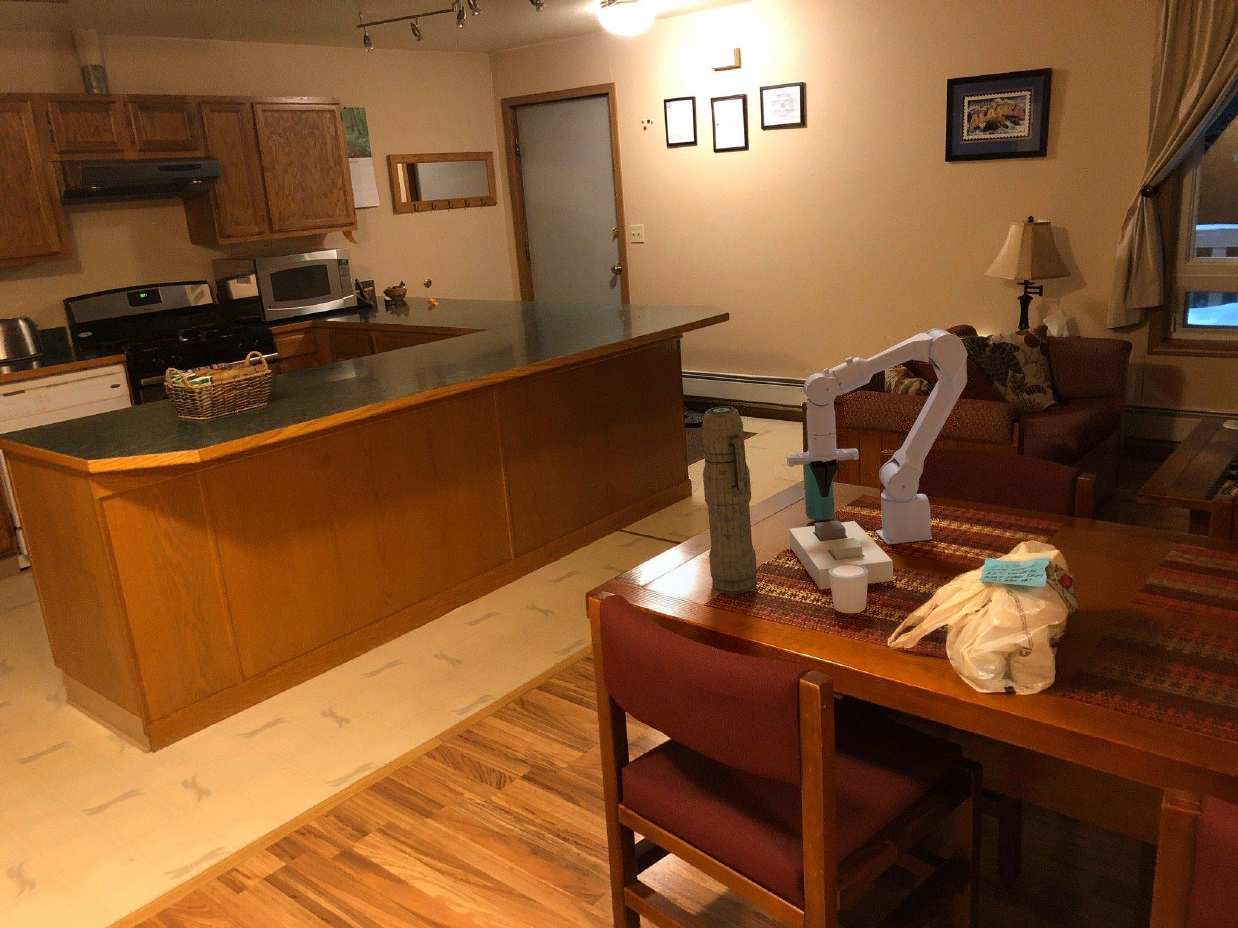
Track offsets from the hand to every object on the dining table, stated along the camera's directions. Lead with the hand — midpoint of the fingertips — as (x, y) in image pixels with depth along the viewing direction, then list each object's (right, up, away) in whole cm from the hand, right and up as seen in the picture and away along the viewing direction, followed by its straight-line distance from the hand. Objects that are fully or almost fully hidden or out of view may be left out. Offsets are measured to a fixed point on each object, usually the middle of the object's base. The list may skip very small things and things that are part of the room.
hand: (824, 495), depth 204 cm
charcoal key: (0, -9, -4) cm, 10 cm away
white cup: (-2, -19, -29) cm, 35 cm away
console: (+1, -13, -9) cm, 16 cm away
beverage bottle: (+2, -7, +15) cm, 17 cm away
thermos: (-20, -17, -15) cm, 30 cm away
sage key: (+1, -12, -15) cm, 19 cm away
